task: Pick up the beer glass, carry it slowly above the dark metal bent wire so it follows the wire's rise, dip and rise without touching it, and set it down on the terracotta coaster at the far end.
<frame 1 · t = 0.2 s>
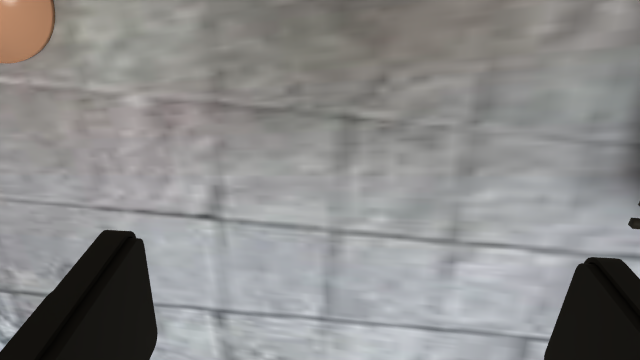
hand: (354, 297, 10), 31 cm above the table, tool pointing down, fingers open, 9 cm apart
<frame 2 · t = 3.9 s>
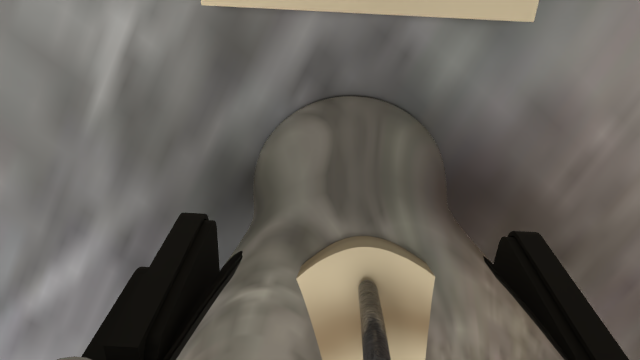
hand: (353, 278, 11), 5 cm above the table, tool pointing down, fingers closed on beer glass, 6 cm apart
beer glass: (348, 183, 15), on the table, touching gripper
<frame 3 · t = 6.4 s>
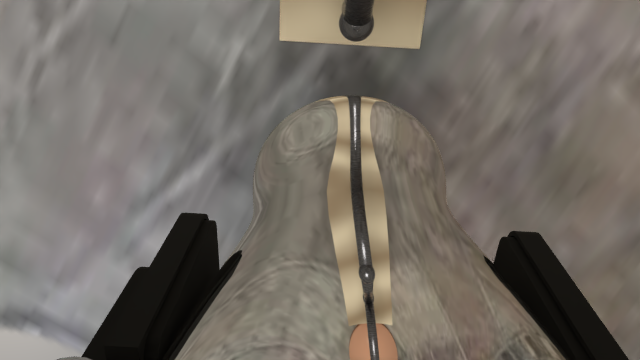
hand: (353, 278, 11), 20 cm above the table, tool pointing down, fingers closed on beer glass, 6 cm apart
beer glass: (348, 182, 15), point 15 cm above the table, touching gripper
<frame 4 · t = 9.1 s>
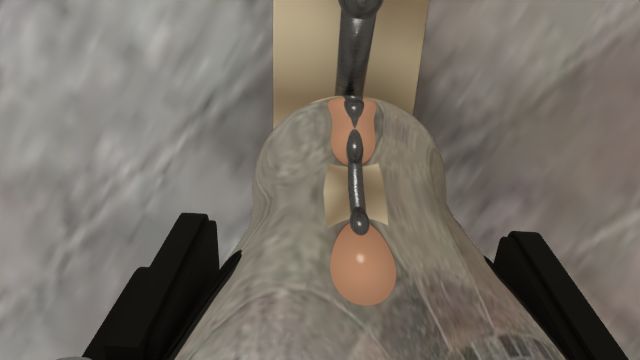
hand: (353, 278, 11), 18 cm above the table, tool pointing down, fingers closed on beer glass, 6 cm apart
wire board: (342, 111, 28), on the table
bent wire: (343, 161, 21), point 7 cm above the table, hinge at 0.0°
beer glass: (348, 182, 15), point 13 cm above the table, touching gripper
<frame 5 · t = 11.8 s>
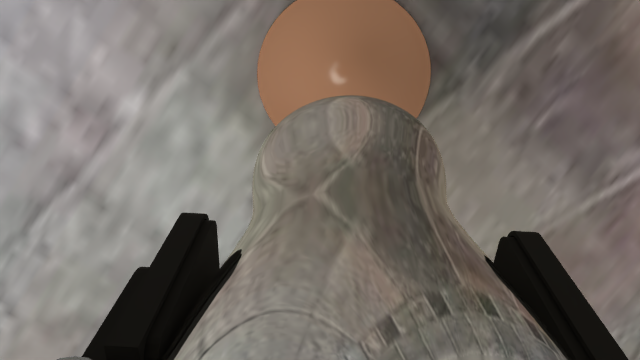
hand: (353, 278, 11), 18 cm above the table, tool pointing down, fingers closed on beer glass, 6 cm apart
beer glass: (348, 182, 15), point 14 cm above the table, touching gripper
terracotta coaster: (343, 76, 27), on the table
when the fingers open (6 cm above the table, at t = 14.3 s): beer glass drops 1 cm, resting on terracotta coaster.
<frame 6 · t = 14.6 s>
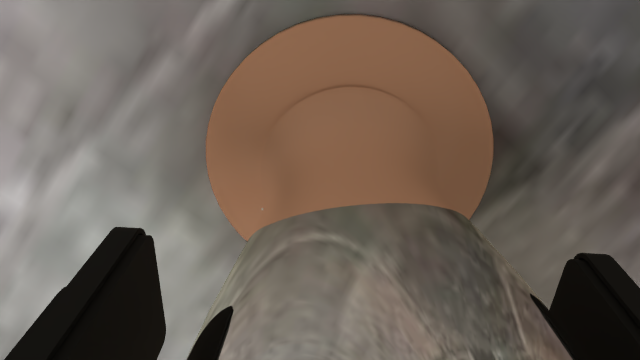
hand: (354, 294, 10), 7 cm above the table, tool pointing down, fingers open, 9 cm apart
beer glass: (348, 167, 16), point 1 cm above the table, touching terracotta coaster
terracotta coaster: (347, 159, 17), on the table
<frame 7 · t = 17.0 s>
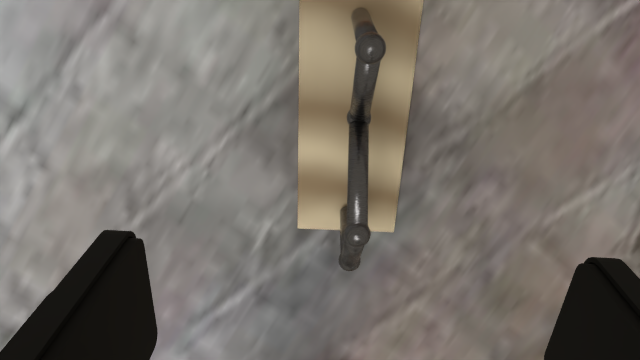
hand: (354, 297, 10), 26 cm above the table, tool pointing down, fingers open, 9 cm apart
wire board: (352, 116, 35), on the table
bent wire: (356, 157, 29), point 7 cm above the table, hinge at 0.0°
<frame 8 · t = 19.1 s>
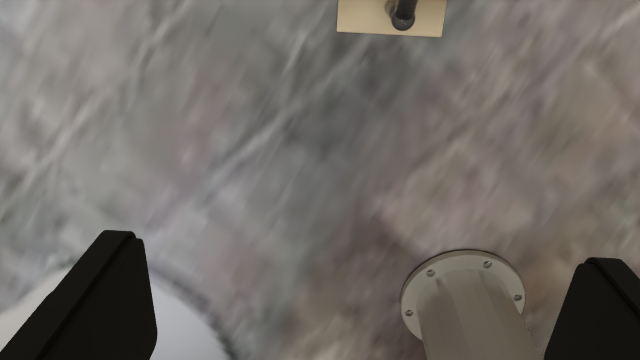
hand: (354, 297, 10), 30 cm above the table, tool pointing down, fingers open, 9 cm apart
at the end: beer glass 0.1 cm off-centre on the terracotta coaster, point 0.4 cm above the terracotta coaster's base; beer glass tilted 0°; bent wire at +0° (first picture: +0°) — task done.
